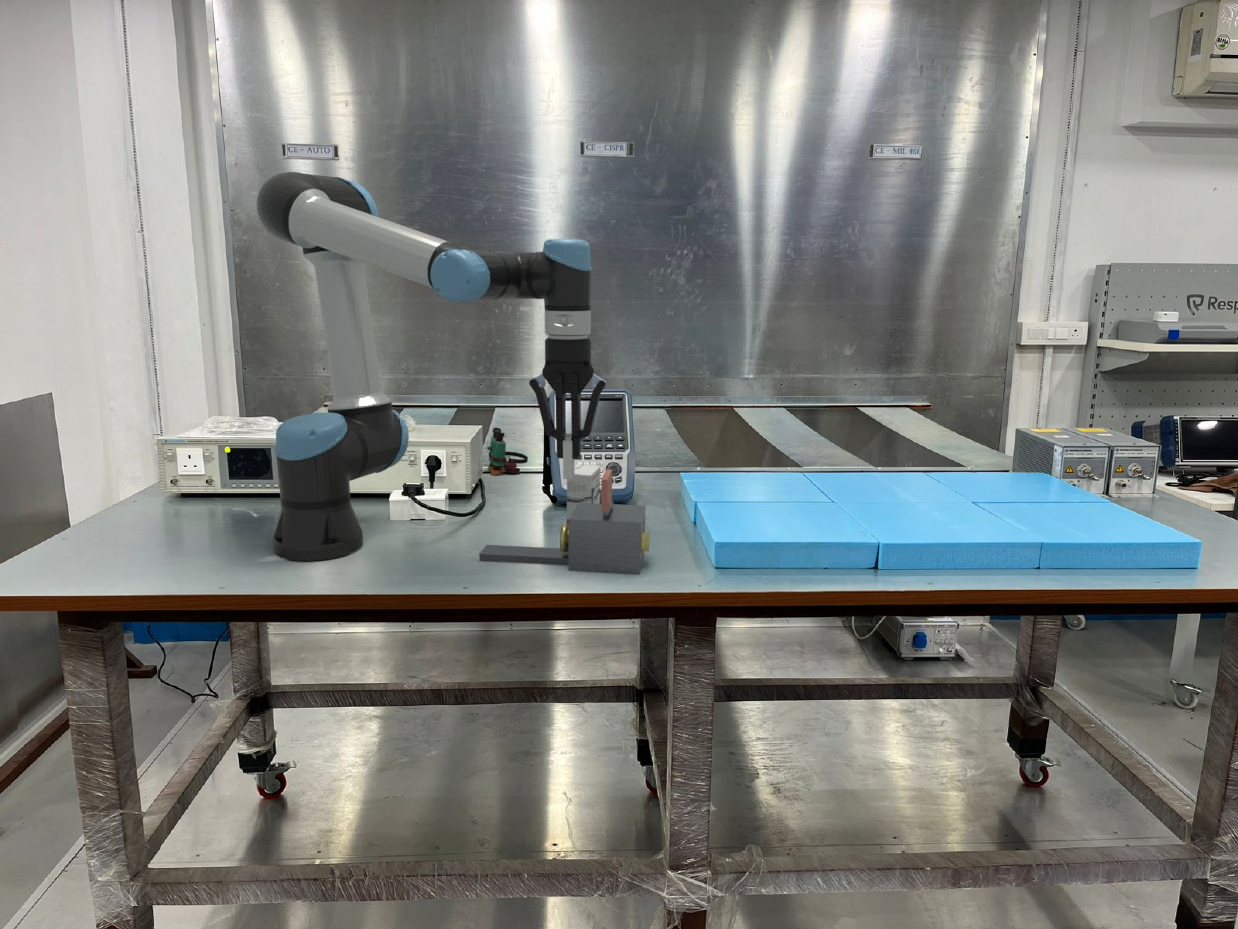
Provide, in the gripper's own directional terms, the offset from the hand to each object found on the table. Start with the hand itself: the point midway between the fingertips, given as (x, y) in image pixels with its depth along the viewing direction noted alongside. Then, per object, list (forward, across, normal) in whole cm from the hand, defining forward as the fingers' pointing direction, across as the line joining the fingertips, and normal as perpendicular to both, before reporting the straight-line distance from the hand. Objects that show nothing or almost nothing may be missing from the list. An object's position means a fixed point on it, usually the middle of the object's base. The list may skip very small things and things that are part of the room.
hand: (568, 476), depth 143 cm
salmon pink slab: (+5, +7, 0) cm, 9 cm away
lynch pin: (+13, +6, 0) cm, 15 cm away
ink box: (+15, 0, +19) cm, 24 cm away
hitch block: (+15, -1, 0) cm, 15 cm away
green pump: (+15, -26, +61) cm, 68 cm away
